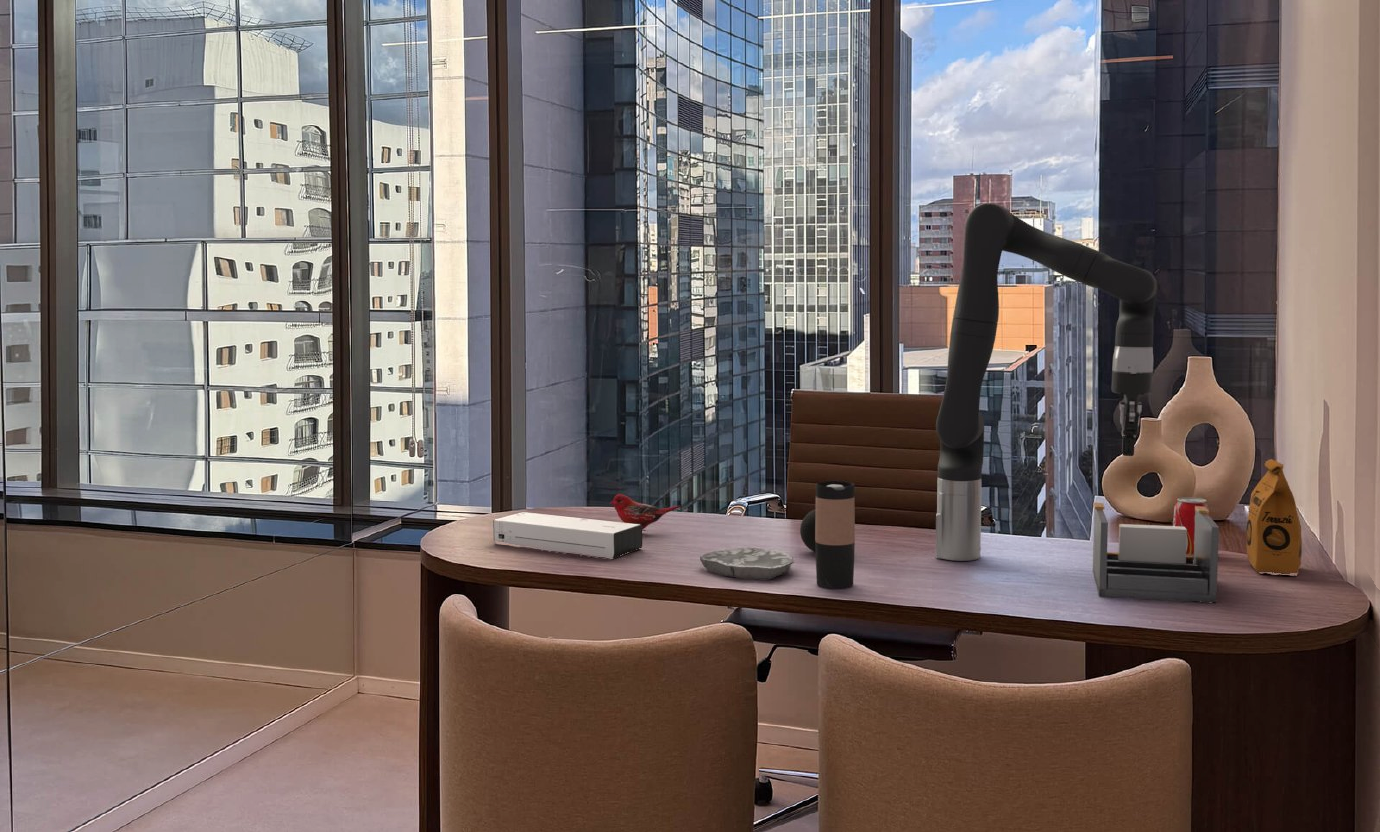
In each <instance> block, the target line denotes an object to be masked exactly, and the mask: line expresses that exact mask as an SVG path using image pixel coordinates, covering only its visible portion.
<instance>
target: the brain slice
mask: <svg viewBox="0 0 1380 832" xmlns="http://www.w3.org/2000/svg"><path fill="white" fill-rule="evenodd" d="M699 560H700V562H701V564H702V566H703V567H704V568H706V570H707V571H708V572H710V571H711V572H710V573H713V572H715V573H714V574H717V573H718V575H720V576H724V577H731V578H737V579H742V578H753V579H752V580H760V579H761V580H764V579H769V580H773V579H775V578H776V577H780V576H781V575H786V574H787V573H788V572H789V570H790V569H791V565H793V564H794V562H795V560H794V559H793V557H792V555H790V554H789V553H788V552H785V551H782V550H779V549H769V550H766V549H764V548H758V547H747V548H743V547H742V548H733V549H725V550H718V551H712V552H707V553H705V554H703V555H701V556H699Z"/></svg>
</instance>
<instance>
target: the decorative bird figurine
mask: <svg viewBox="0 0 1380 832" xmlns="http://www.w3.org/2000/svg"><path fill="white" fill-rule="evenodd" d="M609 505H613V507H614V510H615V511H616V513H617V516H618V517H619V519H620V520H621V521H622V523H631V524H640V525H642V531H647V530H646V528H647V527H648V526H649V525H651V524H654V523H656V522H658V521H659V520H660V519H661V518H663V516H664V515H666V514H667V513H670V512H672V511H674V510H676V509H679V508H681V505H675V506H671V507H667V508H659V507H656V506H653V505H650V504H646V503H642V502H641V503H640V502H636V501H634V500H633V499H631V498H630V497H629V496H627V495H625V494H622V493H618V494H616V495H615V496H614V498H613V500H612V501H611V502H610V503H609Z"/></svg>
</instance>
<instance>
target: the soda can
mask: <svg viewBox="0 0 1380 832" xmlns="http://www.w3.org/2000/svg"><path fill="white" fill-rule="evenodd" d="M1207 501H1208V500H1206V499H1205V498H1201V497H1191V496H1186V497H1185V496H1184V497H1178V498H1177V502H1176V503H1175V505H1174V506H1173V519H1172V520H1173V521H1172V522H1173V523H1172V526H1180V527H1185V528H1186V529H1187V539H1186V556H1193V558H1194V536H1195V506H1201V507H1206V508H1207V509H1208V510H1209V511H1210V507H1209V505H1208V504H1207ZM1207 514H1208V515H1209V516H1210V512H1209V513H1207Z"/></svg>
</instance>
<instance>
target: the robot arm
mask: <svg viewBox="0 0 1380 832" xmlns="http://www.w3.org/2000/svg"><path fill="white" fill-rule="evenodd" d="M963 234H964V235H963V236H964V239H963V258H962V270H961V276H960V280H959V284H958V289H957V294H956V299H955V304H954V310H953V314H952V323H951V329H950V336H949V345H948V356H947V369H946V370H947V371H946V372H947V373H946V380H945V381H946V382H945V387H944V391H943V395H942V399H941V403H940V407H939V411H938V414H937V418H936V422H935V431H936V433H937V437H938V438H939V440H940V442H939V443H940V447H939V449H940V450H939V457H938V458H939V460H938V464H937V482H936V483H937V487H936V488H937V491H936V493H937V495H936V496H937V498H936V505H937V507H936V514H935V515H936V517H935V558H936V559H943V560H948V561H957V562H962V561H963V562H965V561H967V562H968V561H969V562H970V561H975V560H976V561H977V560H979V559H980V558H981V550H982V549H981V547H982V546H981V542H982V541H981V537H982V536H981V535H982V533H981V532H982V531H981V530H982V475H983V474H982V472H983V471H982V470H983V467H984V466H983V464H984V453H985V452H984V447H985V420H984V418H983V414H982V413H981V411H980V404H981V403H980V402H981V401H980V400H981V391H982V385H983V382H984V378H985V375H986V372H987V369H988V367H989V363H990V360H991V357H992V354H993V350H994V346H995V343H996V337H997V329H998V322H999V316H1000V314H999V313H1000V303H999V302H1000V301H999V300H1000V299H999V285H998V284H999V283H998V277H999V276H998V274H999V266H1000V263H1001V256H1002V253H1003V252H1006V253H1011V254H1015V255H1018V256H1021V257H1024V258H1026V259H1028V260H1032V261H1033V262H1036V263H1038V264H1040V265H1042V266H1044V267H1046V268H1048V270H1049V269H1050V270H1052V271H1053V272H1055V273H1057V274H1060V275H1062V276H1064V277H1066V278H1067V279H1070V280H1073V281H1076V282H1078V283H1080V284H1083V285H1085V286H1088V287H1091V288H1095V289H1097V290H1100V291H1102V292H1103V293H1106V294H1107V295H1109V296H1112V297H1113V298H1116V299H1118V300H1119V312H1118V313H1119V314H1118V315H1119V316H1118V320H1117V322H1116V325H1115V337H1114V339H1115V341H1114V350H1113V351H1114V352H1113V356H1112V370H1111V371H1112V372H1111V392H1112V393H1115V394H1120V395H1122V394H1124V395H1123V401H1119V406H1118V407H1119V411H1120V412H1119V413H1120V416H1119V418H1120V419H1119V423H1120V425H1121V428H1120V430H1121V436H1122V444H1121V446H1122V447H1121V454H1122V456H1124V457H1133V456H1134V455H1135V444H1136V442H1135V441H1136V437H1137V435H1138V427H1139V426H1140V418H1141V413H1142V410H1143V409H1142V408H1143V404H1142V402H1140V401H1139V396H1140V395H1150V394H1151V393H1152V392H1153V391H1152V390H1153V388H1152V387H1153V372H1154V371H1153V370H1154V353H1153V352H1154V350H1153V349H1154V348H1153V346H1154V333H1155V332H1154V329H1155V328H1154V316H1155V311H1156V303H1157V295H1158V282H1157V279H1156V277H1155V276H1154V274H1153V273H1152V272H1150V271H1149V270H1147V269H1143V268H1140V267H1138V266H1135V265H1132V264H1129V263H1126V262H1123V261H1120V260H1117V259H1115V258H1112V257H1111V256H1110V255H1108V254H1105V253H1104V252H1101V251H1099V250H1096V249H1094V248H1092V247H1090V246H1087V245H1085V244H1081V243H1078V242H1075V241H1073V240H1071V239H1068V238H1067V239H1066V238H1064V237H1060V236H1058V235H1054V234H1052V233H1049V232H1046V231H1044V230H1042V229H1039V228H1037V227H1035V226H1032V225H1031V224H1029V223H1027V222H1026V221H1024V220H1022V219H1021V218H1019V217H1018V216H1016V215H1015V214H1013V213H1011V211H1010V210H1008V209H1007V208H1006V207H1004V206H1002V205H999V204H997V203H993V202H984V203H980V204H978V205H976V206H975V207H974V208H973V209H971V211H970V212H968V215H967V216H966V219H965V224H964V233H963Z"/></svg>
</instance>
